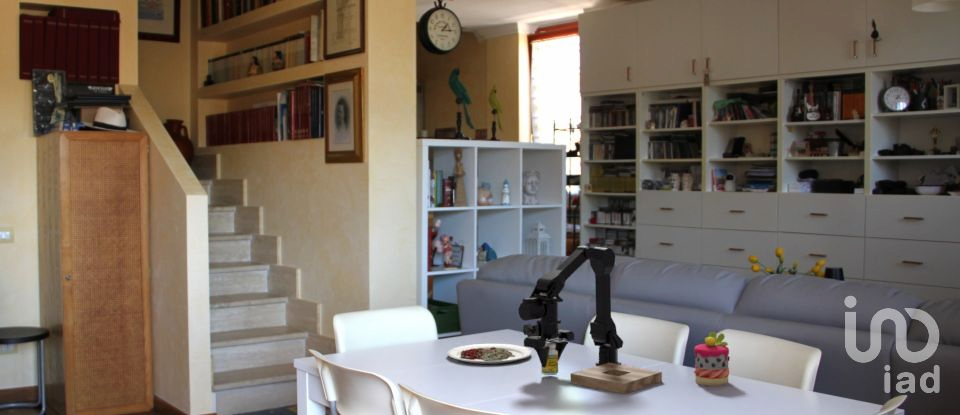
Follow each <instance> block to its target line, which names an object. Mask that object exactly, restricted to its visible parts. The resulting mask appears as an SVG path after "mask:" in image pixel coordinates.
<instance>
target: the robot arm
mask: <svg viewBox="0 0 960 415" xmlns="http://www.w3.org/2000/svg"><path fill="white" fill-rule="evenodd" d="M587 260H589V263H590V264H589V265H590V268H591V269H592V271H593V273H594V276H595V277H594V278H595V318H594V320H593V321H590V322H589V328H590V330H589V335H590V337H591V339H592V340H593V343H594V346H598V362H595V363H594V364H595V365H596V366H599V365H602V364H606V363H614V364H619V365H623V363H622V362H619V361H618V360H619V359H618V358H619V353H618V351H619V350H620V349H621V348H623V345H624V340H623V339H622V338H621V337H620V336H619V334H618V331H617V325H616V324H615V323H616V322H614V319H613V317H612V302H611V300H612V298H611V297H612V296H611V295H612V294H611V274H612V271H613V270H614V267H615V266H616V265H615V263H616V253H615V251H614V249H612V248H610V247H609V248H608V247H599V246H595V247H591V246H585V245H579V246H576V248H575V250H574V251H573V252H572V253H571V254H570V255H569V256H568V257H567V258H565V260H564V261H563V262H561V264H560V265H558V267H556V268H555V269H554V270H553V271H551V272H547V273H545V274H543V275H542V276H541V277H539V278H538V279H537V281H536V284H535V287H534V288H533V290H532V292H531V294H530V296H529V298H527V297H525V298H522V303H520V305H519V307H518V310H517V311H518V316H519V317H520V319H521V320H523V321H531V320H532V321H533V320H536V324H535V325H532V324H531V323H526V324H524V325H523V327H522V333H523V335H524V336H527V337H525V338H524V339H523V347H526V348H530V349H533V350H534V351H535V352H536V354H537V356H538V359H539V362H540V364H541V365H542V367H546V364H547V359H548V354H549V349H550V347H548V346H547V343H555V344H556V347H555V350H557V352H558V362H559V361H560V359H561V356H562V354H563V352H564V350H565V349H566V346H567V345H568V344H569V342H570V341H574V340H575V334H574V332H573V331H572V330H568V329H559V325H560V324H561V323H562V319H559V304H558V303H563V302H564V299H563V298H562V297H560V294H561V292H562V290H563V289H564V288H565V285H566V281H567V280H568V279H570V277H571V276H572V275H573V274H574V273H575V272H577V270H578V269H579V268H580V267H581V266H582V265H583V264H585V263H586V262H587ZM537 319H538V320H537ZM566 340H567V341H566Z"/></svg>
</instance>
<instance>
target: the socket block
mask: <svg viewBox="0 0 960 415" xmlns="http://www.w3.org/2000/svg"><path fill="white" fill-rule="evenodd" d="M662 382H663V371H659V370H652V369H647V368H643V367H642V368H641V367H635V366H630V365H624V364H621V365H619V364H614V363H606V364H602V365H596V366H592V367H589V368H585V369H581V370H579V371H575V372H574V371H573V372H571V373H570V384H575V385H579V386H582V387H588V388H593V389H599V390H603V391H607V392H614V393H618V394H623V395H625V394H628V393H632V392H635V391H637V390H640V389H644V388H646V387H649V386H653V385H656V384H659V383H662Z"/></svg>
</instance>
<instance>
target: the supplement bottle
mask: <svg viewBox="0 0 960 415" xmlns="http://www.w3.org/2000/svg"><path fill="white" fill-rule="evenodd" d="M547 346H548V347H550V349H549V354H548V359H547V364H546V367H542V365H541V367H540V368H541V374H542V375H545V376H555V375H558V373H559V361H558V352H557V350H555V347H556V344H555V343H550V342H547Z"/></svg>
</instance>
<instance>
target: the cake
mask: <svg viewBox="0 0 960 415" xmlns="http://www.w3.org/2000/svg"><path fill="white" fill-rule="evenodd" d="M725 337H726V336H725V334H724V333H720V334H719V335H717V333H716V332H714V331H710V332H709V334H708V336H706V337H705V338H704V342H705V343H701V344H700V343H699V344H697V345H696V346H694V355H693V356H694V362H693V364H695V365H694V368H695V370H694V371H693V373H694V374H695V378H694V379H695V383H696V384H697V383H698V384H697V385H700V384H702V385H701V386H704V385H709V386H708V387H721V386H720V385H725V386H727V385H729V375H730V367H729V361H730V356H729V354H730V349H729V347H728V342H727V341H724V339H725ZM726 384H727V385H726Z"/></svg>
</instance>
